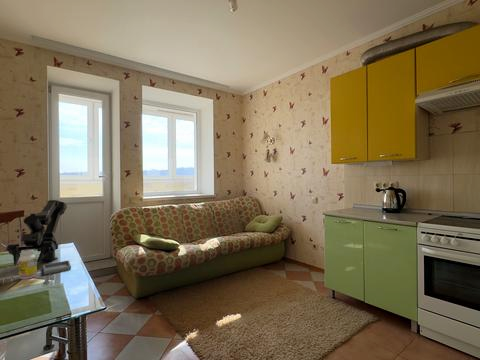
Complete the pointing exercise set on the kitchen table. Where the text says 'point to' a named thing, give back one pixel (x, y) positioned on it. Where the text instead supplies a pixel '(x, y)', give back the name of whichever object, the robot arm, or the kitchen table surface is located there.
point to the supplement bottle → (27, 264)
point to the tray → (56, 267)
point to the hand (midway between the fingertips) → (26, 263)
